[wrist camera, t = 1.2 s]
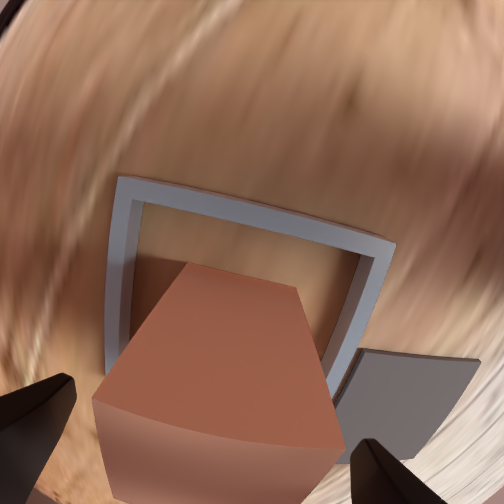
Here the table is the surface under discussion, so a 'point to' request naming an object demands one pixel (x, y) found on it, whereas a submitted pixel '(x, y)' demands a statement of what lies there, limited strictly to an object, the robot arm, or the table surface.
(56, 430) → the robot arm
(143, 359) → the block
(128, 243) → the blue-grey square frame
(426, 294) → the table surface
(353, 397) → the place mat
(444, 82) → the table surface
